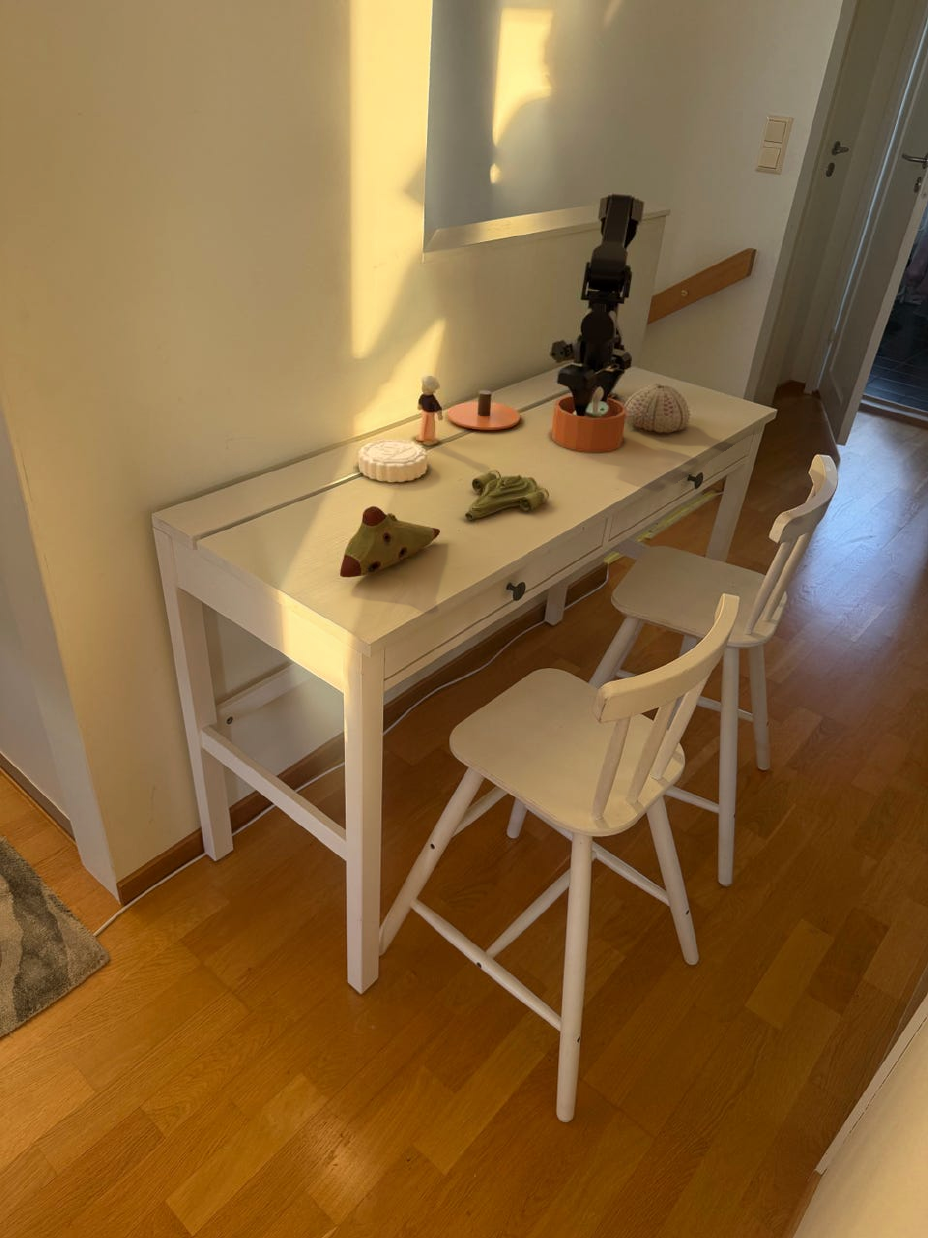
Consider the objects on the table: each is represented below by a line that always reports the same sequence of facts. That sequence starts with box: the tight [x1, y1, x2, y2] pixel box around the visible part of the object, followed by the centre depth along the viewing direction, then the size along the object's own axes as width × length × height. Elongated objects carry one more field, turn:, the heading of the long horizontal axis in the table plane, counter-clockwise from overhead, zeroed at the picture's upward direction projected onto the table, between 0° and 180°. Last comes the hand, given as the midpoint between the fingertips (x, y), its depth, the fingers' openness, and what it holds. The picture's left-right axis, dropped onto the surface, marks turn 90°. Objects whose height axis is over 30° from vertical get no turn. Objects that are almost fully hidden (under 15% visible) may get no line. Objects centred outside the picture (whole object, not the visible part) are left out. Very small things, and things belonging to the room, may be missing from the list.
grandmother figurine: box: [415, 374, 444, 446], centre depth 165 cm, size 8×4×13 cm, turn 47°
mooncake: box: [358, 439, 428, 483], centre depth 156 cm, size 12×12×4 cm
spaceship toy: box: [464, 469, 550, 521], centre depth 147 cm, size 12×18×4 cm
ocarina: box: [339, 505, 441, 578], centre depth 127 cm, size 20×5×10 cm, turn 139°
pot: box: [550, 394, 627, 453], centre depth 172 cm, size 14×14×6 cm
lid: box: [447, 389, 521, 431], centre depth 178 cm, size 15×15×6 cm
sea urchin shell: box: [623, 383, 691, 434], centre depth 179 cm, size 13×14×8 cm
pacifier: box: [573, 387, 609, 418], centre depth 169 cm, size 7×6×6 cm
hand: (589, 412), depth 170 cm, fingers closed on pacifier, 7 cm apart
